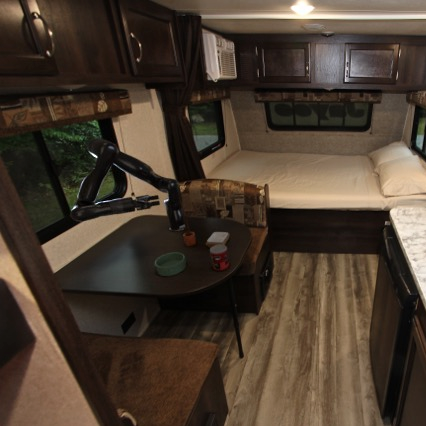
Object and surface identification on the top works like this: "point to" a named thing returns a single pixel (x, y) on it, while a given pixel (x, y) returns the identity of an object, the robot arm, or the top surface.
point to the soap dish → (217, 239)
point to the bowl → (170, 264)
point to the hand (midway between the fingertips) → (159, 199)
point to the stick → (186, 225)
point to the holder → (190, 239)
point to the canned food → (219, 257)
